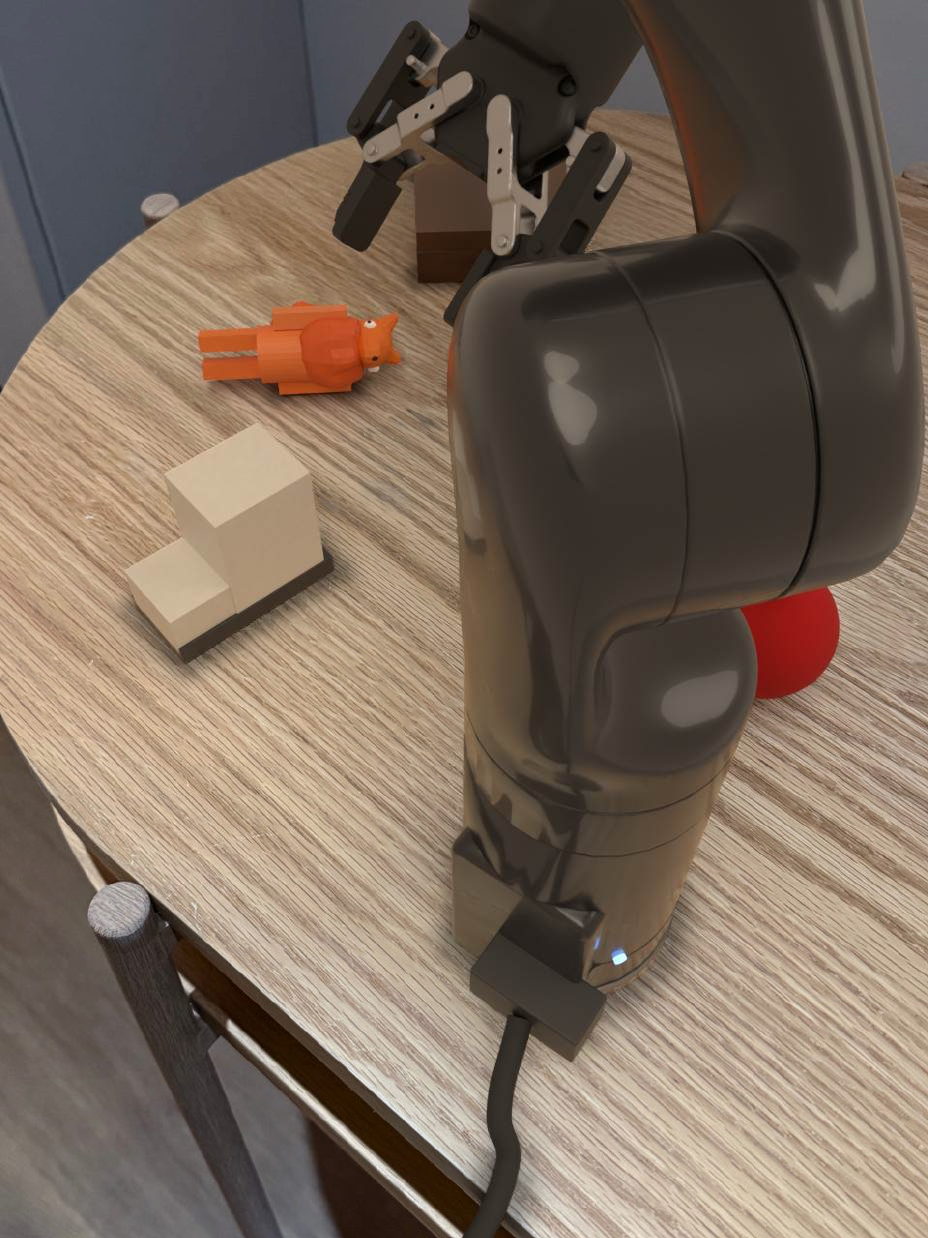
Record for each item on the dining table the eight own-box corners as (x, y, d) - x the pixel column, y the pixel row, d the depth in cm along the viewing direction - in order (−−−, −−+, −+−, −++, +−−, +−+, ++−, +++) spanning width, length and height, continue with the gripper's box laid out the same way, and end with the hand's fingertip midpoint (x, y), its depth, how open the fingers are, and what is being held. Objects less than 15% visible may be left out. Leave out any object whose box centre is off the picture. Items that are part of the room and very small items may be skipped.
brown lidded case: (560, 161, 86) (564, 110, 83) (580, 278, 78) (585, 227, 74) (413, 164, 86) (411, 114, 82) (417, 283, 77) (415, 232, 74)
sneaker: (284, 519, 65) (264, 415, 58) (334, 570, 63) (320, 467, 56) (136, 607, 61) (97, 506, 55) (184, 664, 59) (151, 566, 52)
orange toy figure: (189, 330, 66) (399, 321, 66) (204, 287, 72) (396, 278, 72) (202, 412, 68) (403, 402, 69) (216, 363, 75) (400, 354, 75)
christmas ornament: (723, 590, 62) (762, 460, 54) (843, 656, 59) (903, 530, 51) (653, 677, 58) (684, 552, 50) (777, 751, 56) (830, 632, 48)
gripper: (742, 66, 51) (537, 379, 55) (525, -48, 57) (357, 241, 62) (678, -23, 44) (452, 339, 49) (441, -140, 51) (262, 191, 55)
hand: (399, 284), depth 55 cm, fingers open, 8 cm apart
